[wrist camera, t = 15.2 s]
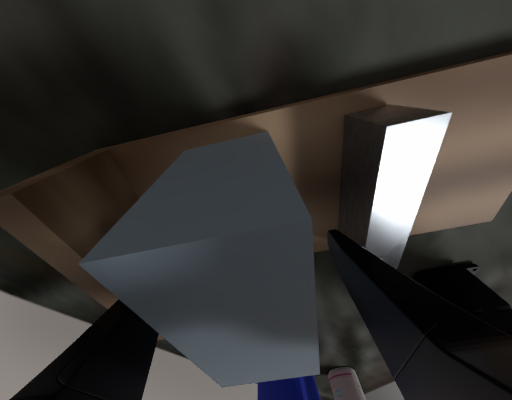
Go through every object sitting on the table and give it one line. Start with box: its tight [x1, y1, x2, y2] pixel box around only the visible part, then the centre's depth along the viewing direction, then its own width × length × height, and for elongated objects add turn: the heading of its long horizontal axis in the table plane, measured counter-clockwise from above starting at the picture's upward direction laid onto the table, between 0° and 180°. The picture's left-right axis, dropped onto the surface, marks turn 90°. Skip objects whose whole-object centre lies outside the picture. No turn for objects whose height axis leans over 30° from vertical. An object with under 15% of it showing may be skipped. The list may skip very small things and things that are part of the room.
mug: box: [258, 375, 321, 400], centre depth 24 cm, size 8×12×10 cm
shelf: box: [0, 51, 512, 340], centre depth 11 cm, size 12×28×6 cm, turn 102°
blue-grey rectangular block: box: [78, 131, 320, 387], centre depth 10 cm, size 10×5×8 cm, turn 12°
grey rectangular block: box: [338, 104, 452, 269], centre depth 11 cm, size 10×2×4 cm, turn 12°
